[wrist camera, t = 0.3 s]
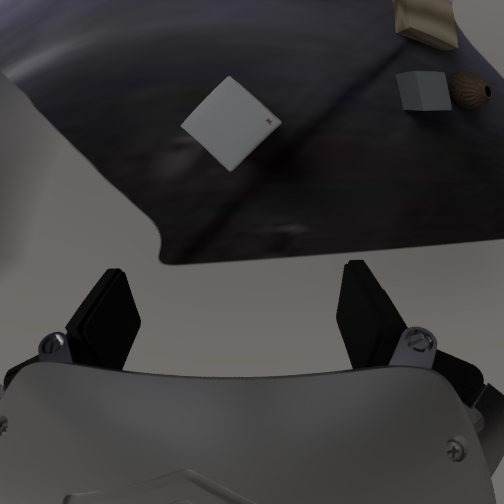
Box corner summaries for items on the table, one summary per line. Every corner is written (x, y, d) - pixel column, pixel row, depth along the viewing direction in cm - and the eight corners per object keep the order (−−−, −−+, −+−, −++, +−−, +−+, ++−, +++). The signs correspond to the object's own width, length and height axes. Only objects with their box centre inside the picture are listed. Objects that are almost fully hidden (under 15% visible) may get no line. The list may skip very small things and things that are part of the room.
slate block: (395, 74, 31) (414, 70, 25) (423, 74, 30) (444, 72, 25) (403, 109, 33) (423, 110, 28) (430, 108, 33) (451, 109, 27)
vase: (459, 69, 28) (491, 68, 20) (472, 103, 31) (504, 107, 23) (437, 76, 30) (469, 74, 22) (451, 112, 32) (484, 117, 25)
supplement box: (237, 87, 33) (230, 72, 22) (274, 122, 35) (285, 123, 24) (200, 123, 35) (178, 125, 24) (237, 157, 38) (231, 174, 27)
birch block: (389, -11, 23) (402, -21, 18) (435, 8, 23) (451, 2, 18) (395, 33, 27) (410, 26, 23) (441, 51, 27) (458, 48, 23)
